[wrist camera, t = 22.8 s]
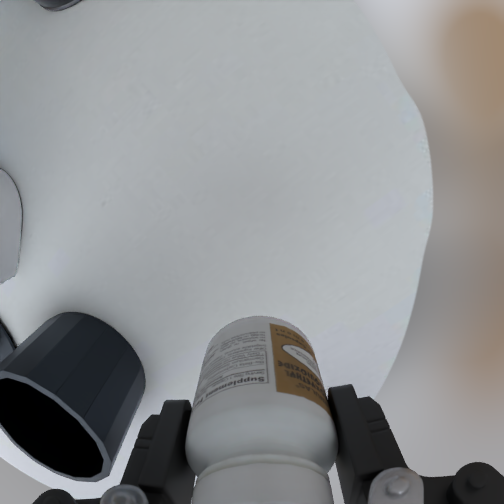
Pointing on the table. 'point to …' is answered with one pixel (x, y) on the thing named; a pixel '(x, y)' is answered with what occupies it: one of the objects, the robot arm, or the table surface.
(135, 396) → the bin
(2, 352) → the bin lid
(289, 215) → the table surface
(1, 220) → the toilet tissue
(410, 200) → the table surface
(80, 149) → the table surface
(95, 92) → the table surface
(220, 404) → the pill bottle
